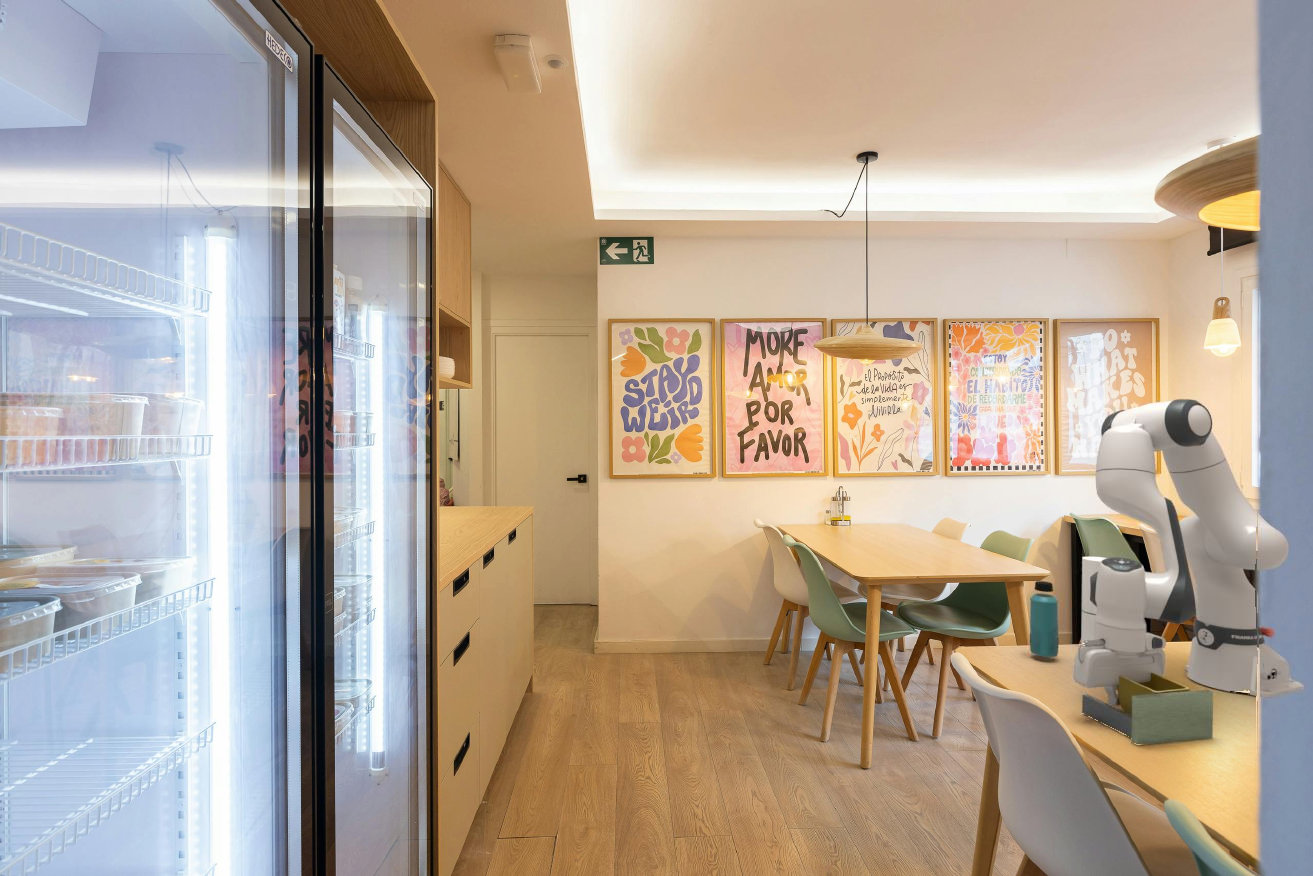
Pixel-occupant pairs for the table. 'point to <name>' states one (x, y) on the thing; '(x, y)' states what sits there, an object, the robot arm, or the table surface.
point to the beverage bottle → (1044, 621)
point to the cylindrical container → (1088, 597)
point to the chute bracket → (1158, 716)
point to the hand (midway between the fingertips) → (1118, 704)
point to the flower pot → (1145, 689)
